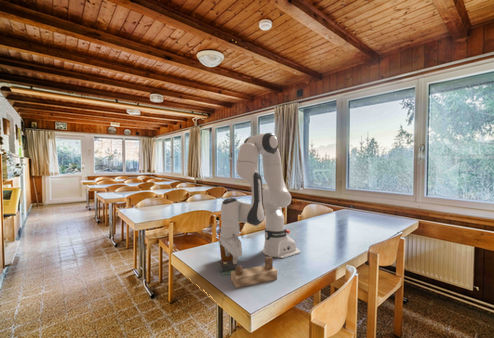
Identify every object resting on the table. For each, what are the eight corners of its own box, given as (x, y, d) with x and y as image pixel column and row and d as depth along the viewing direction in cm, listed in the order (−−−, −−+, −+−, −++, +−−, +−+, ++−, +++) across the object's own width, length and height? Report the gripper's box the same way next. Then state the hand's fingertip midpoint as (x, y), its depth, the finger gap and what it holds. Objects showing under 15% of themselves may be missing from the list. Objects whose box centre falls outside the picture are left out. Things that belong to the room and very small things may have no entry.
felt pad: (233, 265, 119) (233, 264, 119) (238, 272, 111) (238, 271, 111) (218, 268, 116) (218, 267, 116) (222, 275, 108) (222, 274, 108)
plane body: (269, 272, 112) (269, 254, 112) (277, 279, 105) (277, 259, 105) (229, 280, 104) (229, 260, 104) (234, 287, 97) (235, 266, 97)
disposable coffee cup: (236, 257, 130) (236, 236, 130) (235, 264, 120) (236, 241, 120) (219, 257, 129) (219, 236, 129) (217, 264, 120) (217, 241, 120)
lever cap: (234, 266, 117) (234, 259, 117) (237, 269, 113) (237, 262, 113) (218, 268, 114) (219, 261, 114) (221, 272, 110) (221, 265, 110)
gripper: (245, 236, 105) (245, 266, 105) (229, 226, 123) (229, 251, 124) (232, 239, 102) (233, 269, 103) (217, 227, 121) (218, 253, 121)
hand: (231, 259), depth 113 cm, fingers open, 8 cm apart
